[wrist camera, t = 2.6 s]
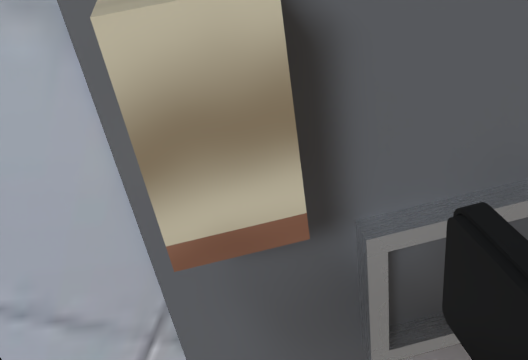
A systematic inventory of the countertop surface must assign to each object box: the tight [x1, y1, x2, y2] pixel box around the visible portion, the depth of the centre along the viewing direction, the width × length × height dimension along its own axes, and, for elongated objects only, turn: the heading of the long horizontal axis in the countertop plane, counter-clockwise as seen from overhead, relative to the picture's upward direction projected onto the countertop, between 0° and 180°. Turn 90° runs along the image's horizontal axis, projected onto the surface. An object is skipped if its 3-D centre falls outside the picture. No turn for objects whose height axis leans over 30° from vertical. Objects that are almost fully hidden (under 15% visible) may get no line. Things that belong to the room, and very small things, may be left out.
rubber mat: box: [57, 0, 528, 360], centre depth 23 cm, size 23×24×1 cm
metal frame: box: [355, 179, 528, 360], centre depth 26 cm, size 9×13×2 cm
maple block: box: [90, 0, 310, 272], centre depth 17 cm, size 9×5×4 cm, turn 9°
